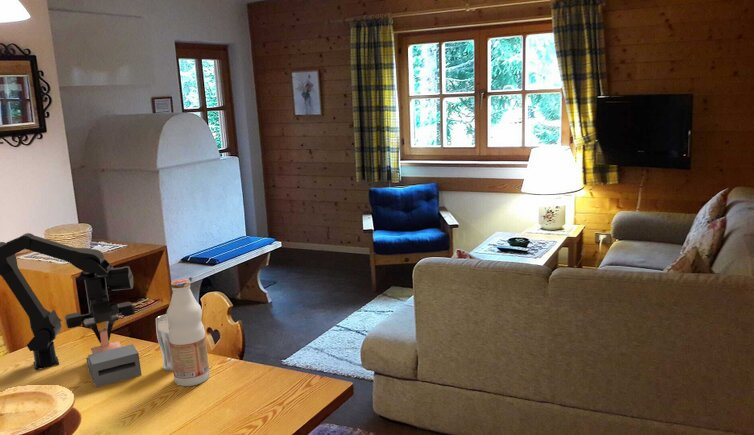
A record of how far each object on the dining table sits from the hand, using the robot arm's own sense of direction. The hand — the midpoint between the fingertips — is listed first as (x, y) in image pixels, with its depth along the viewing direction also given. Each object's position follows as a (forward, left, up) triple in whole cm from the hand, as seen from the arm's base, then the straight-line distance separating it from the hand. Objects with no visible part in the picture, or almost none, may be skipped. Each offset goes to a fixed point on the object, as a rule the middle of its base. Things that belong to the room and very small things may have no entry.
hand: (104, 341), depth 188 cm
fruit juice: (+33, +17, -5) cm, 37 cm away
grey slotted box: (+13, 0, -5) cm, 14 cm away
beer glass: (+21, +15, -5) cm, 26 cm away
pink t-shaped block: (+7, 0, -2) cm, 7 cm away
